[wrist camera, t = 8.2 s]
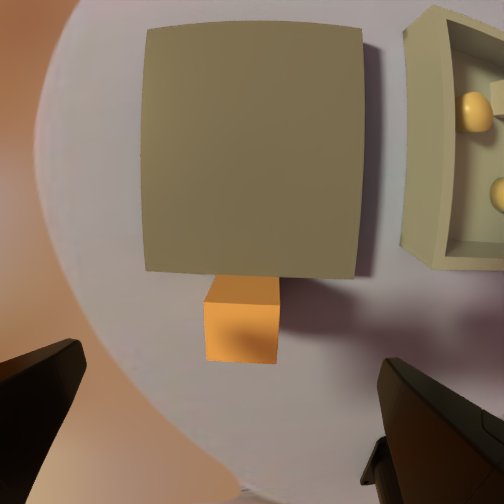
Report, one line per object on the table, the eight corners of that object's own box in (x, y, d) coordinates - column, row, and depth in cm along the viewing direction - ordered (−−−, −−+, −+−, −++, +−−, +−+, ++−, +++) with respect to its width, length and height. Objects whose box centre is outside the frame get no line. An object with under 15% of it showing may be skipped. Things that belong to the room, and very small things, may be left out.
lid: (340, 314, 18) (360, 363, 13) (160, 306, 18) (128, 350, 14) (353, 40, 14) (381, 2, 9) (158, 40, 14) (121, 5, 10)
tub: (523, 251, 16) (560, 270, 12) (399, 245, 16) (431, 269, 12) (528, 75, 12) (567, 67, 9) (402, 31, 13) (433, 4, 9)
